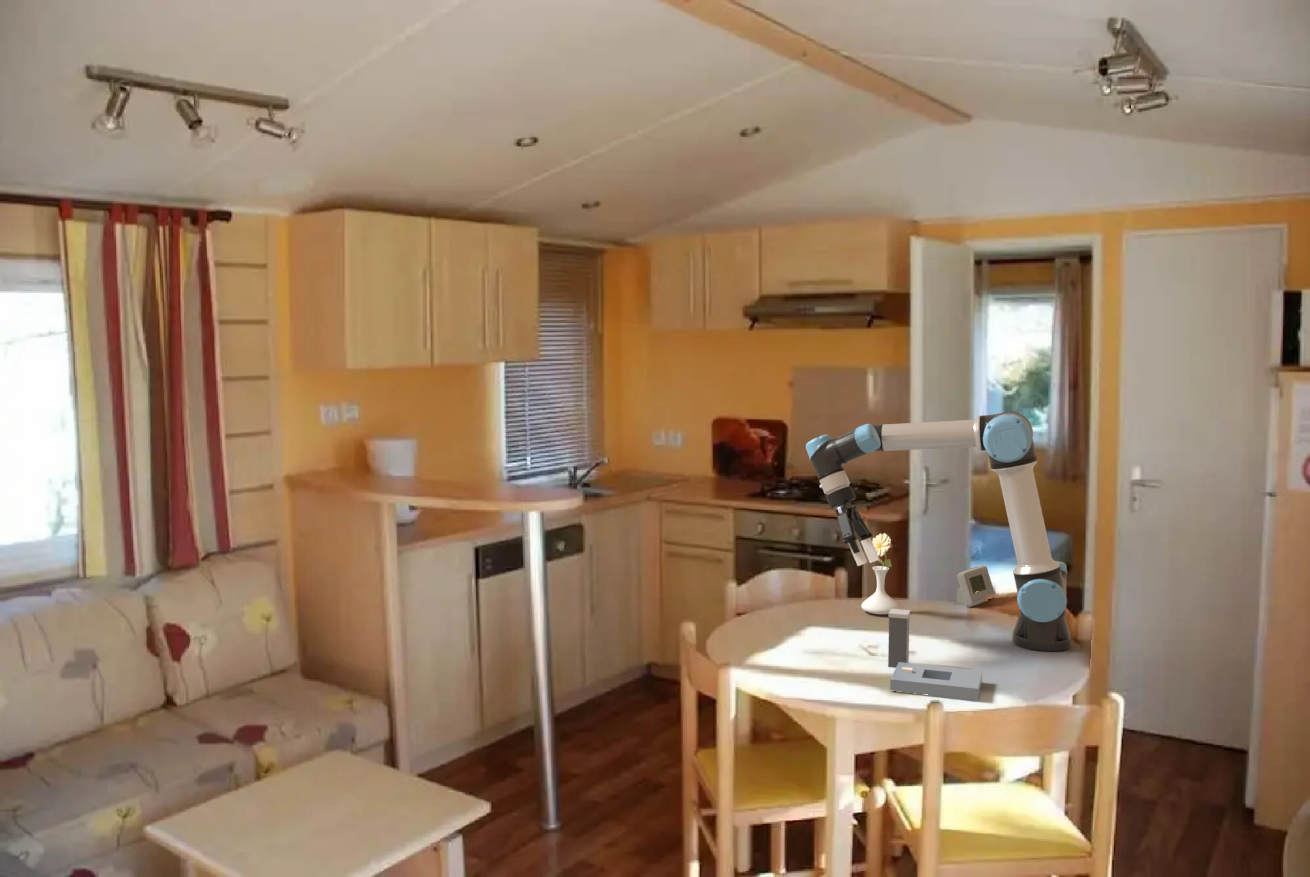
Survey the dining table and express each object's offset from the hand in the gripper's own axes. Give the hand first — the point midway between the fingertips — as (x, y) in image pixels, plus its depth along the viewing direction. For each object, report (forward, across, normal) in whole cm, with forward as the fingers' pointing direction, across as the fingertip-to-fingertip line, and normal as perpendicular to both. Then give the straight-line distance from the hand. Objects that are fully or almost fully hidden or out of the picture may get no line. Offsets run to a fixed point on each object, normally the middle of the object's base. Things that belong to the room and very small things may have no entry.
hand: (868, 563), depth 289 cm
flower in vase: (+14, -38, -12) cm, 42 cm away
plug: (+27, +10, -1) cm, 29 cm away
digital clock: (+22, -62, +11) cm, 67 cm away
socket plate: (+34, +23, +9) cm, 42 cm away
